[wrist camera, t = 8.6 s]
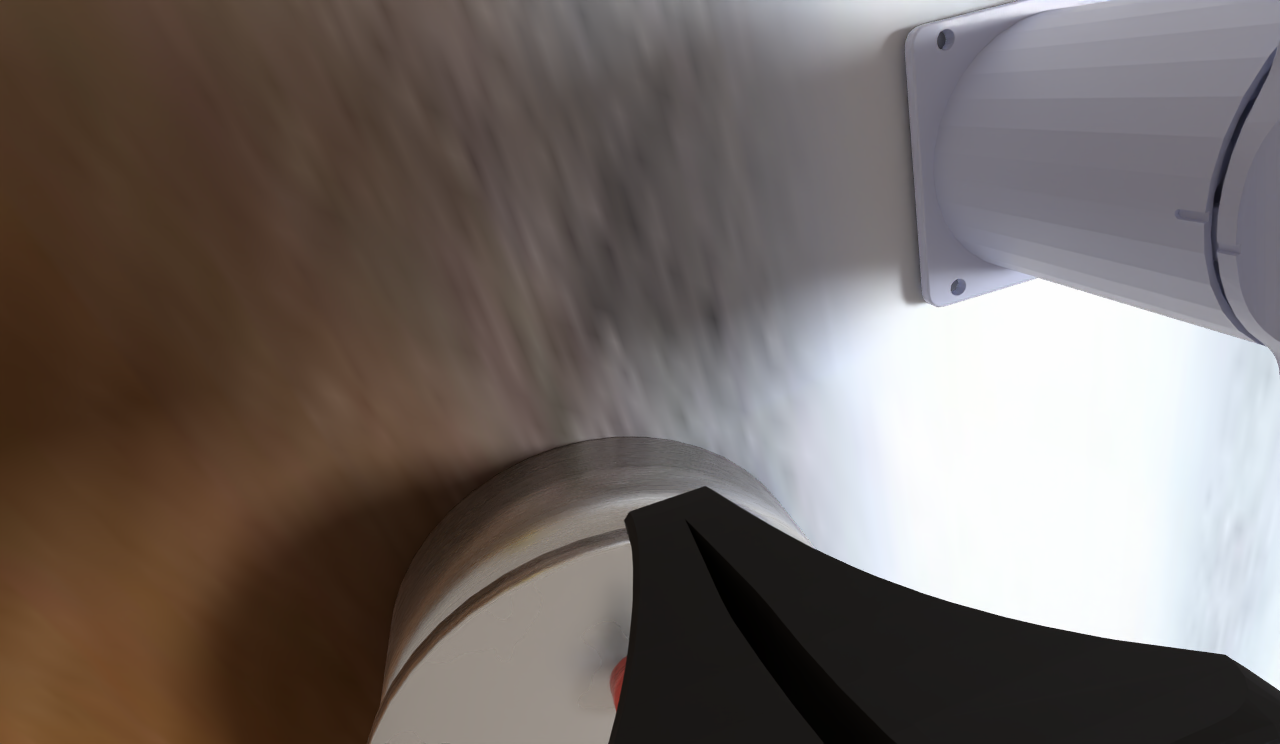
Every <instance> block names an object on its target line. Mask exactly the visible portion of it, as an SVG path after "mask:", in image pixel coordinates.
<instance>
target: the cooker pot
mask: <svg viewBox="0 0 1280 744" xmlns="http://www.w3.org/2000/svg"><path fill="white" fill-rule="evenodd" d="M703 486H707V487H708V488H710V489H712V490H714V491H715V492H717V493H719V494H720V495H722V496H724V497H725V498H727V499H728V500H730V501H732V502H733V503H735V504H736V505H738V506H740V507H741V508H743V509H745V510H746V511H748V512H750V513H751V514H753V515H755V516H756V517H758V518H760V519H761V520H763V521H765V522H766V523H768V524H770V525H772V526H773V527H775V528H777V529H779V530H781V531H782V532H784V533H786V534H788V535H790V536H792V537H793V538H795V539H797V540H799V541H801V542H803V543H805V544H806V545H808V546H810V547H812V548H814V549H816V548H815V547H814V545H813V544H812V543H811V542H810V540H809V539H808V538H807V537H806V535H805V534H804V533H803V532H802V530H801V529H800V528H799V527H798V525H797V524H796V523H795V522H794V520H793V519H792V518H791V517H790V515H789V514H788V513H787V512H786V510H785V509H784V508H783V507H782V505H781V504H780V503H779V502H778V500H777V499H776V498H775V497H774V496H773V495H772V494H771V493H770V491H769V490H768V489H767V488H766V487H765V486H764V485H763V484H762V483H761V482H760V481H758V480H757V479H756V478H755V477H753V476H752V475H751V474H750V473H749V472H747V471H746V470H745V469H743V468H741V467H740V466H738V465H736V464H735V463H733V462H731V461H730V460H728V459H726V458H724V457H722V456H720V455H717V454H715V453H712V452H710V451H708V450H705V449H703V448H700V447H697V446H693V445H689V444H685V443H681V442H677V441H673V440H664V439H656V438H648V437H615V438H607V439H599V440H591V441H584V442H580V443H576V444H572V445H568V446H564V447H560V448H556V449H553V450H551V451H548V452H545V453H543V454H540V455H537V456H535V457H532V458H529V459H527V460H525V461H523V462H521V463H519V464H517V465H515V466H513V467H511V468H509V469H507V470H505V471H503V472H501V473H499V474H498V475H496V476H495V477H493V478H492V479H490V480H489V481H487V482H486V483H484V484H483V485H481V486H480V487H478V488H477V489H475V490H474V491H473V492H471V493H470V494H469V495H468V496H467V497H466V498H465V499H463V500H462V501H461V502H460V503H459V504H458V505H456V506H455V507H454V508H453V509H452V510H451V511H450V512H449V513H448V514H447V515H446V516H445V517H444V518H443V519H442V521H441V522H440V523H439V524H438V525H437V526H436V527H435V528H434V529H433V531H432V532H431V533H430V534H429V536H428V537H427V539H426V540H425V541H424V543H423V544H422V546H421V547H420V549H419V550H418V552H417V553H416V555H415V556H414V558H413V560H412V562H411V564H410V566H409V568H408V570H407V572H406V574H405V576H404V578H403V580H402V583H401V586H400V589H399V592H398V595H397V598H396V602H395V605H394V609H393V616H392V622H391V629H390V636H389V643H388V651H387V658H386V665H385V673H384V680H383V687H382V694H381V702H380V705H381V703H382V701H383V699H384V697H385V695H386V693H387V691H388V689H389V687H390V685H391V683H392V682H393V680H394V679H395V678H396V676H397V675H398V673H399V672H400V670H401V669H402V667H403V666H404V665H405V663H406V662H407V660H408V659H409V657H410V656H411V655H412V653H413V652H414V651H415V650H416V649H417V647H418V646H419V645H420V644H421V643H422V642H423V641H424V640H425V639H426V638H427V636H428V635H429V634H430V633H431V632H432V631H433V630H434V629H435V628H436V627H437V626H438V624H439V623H441V622H442V621H443V620H444V619H445V618H446V617H448V616H449V615H450V614H451V613H452V612H453V611H455V610H456V609H457V608H458V607H459V606H460V605H462V604H463V603H464V602H465V601H466V600H467V599H469V598H470V597H471V596H473V595H474V594H476V593H477V592H479V591H480V590H482V589H483V588H484V587H486V586H487V585H489V584H490V583H492V582H493V581H495V580H496V579H498V578H499V577H501V576H502V575H504V574H506V573H508V572H509V571H511V570H513V569H515V568H517V567H519V566H521V565H523V564H525V563H527V562H528V561H530V560H532V559H534V558H536V557H538V556H540V555H542V554H545V553H547V552H550V551H552V550H555V549H557V548H560V547H563V546H565V545H568V544H570V543H573V542H575V541H578V540H581V539H584V538H588V537H592V536H595V535H599V534H603V533H607V532H610V531H614V530H618V529H623V528H626V526H625V523H624V519H625V518H626V516H627V515H628V513H629V512H630V511H632V510H635V509H638V508H641V507H644V506H647V505H650V504H653V503H656V502H659V501H662V500H665V499H668V498H671V497H674V496H677V495H680V494H683V493H686V492H688V491H691V490H694V489H697V488H700V487H703ZM816 550H817V549H816Z"/></svg>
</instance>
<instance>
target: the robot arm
mask: <svg viewBox="0 0 1280 744" xmlns="http://www.w3.org/2000/svg"><path fill="white" fill-rule="evenodd" d="M941 31H942V32H943V33H944V34H945V38H946V41H945V45H944V47H943V48H942V49H940V48H939V47H938V44H937V38H938V35H939V34H940V32H941ZM905 60H906V74H907V88H908V102H909V117H910V131H911V145H912V159H913V173H914V187H915V201H916V215H917V229H918V243H919V257H920V271H921V285H922V295H923V299H924V300H925V301H926V302H927V303H929V304H931V305H933V306H936V307H944V306H947V305H950V304H954V303H957V302H960V301H964V300H967V299H970V298H973V297H977V296H980V295H983V294H987V293H990V292H993V291H996V290H1000V289H1003V288H1006V287H1010V286H1013V285H1016V284H1019V283H1023V282H1026V281H1029V280H1032V279H1036V278H1041V279H1044V280H1047V281H1051V282H1054V283H1057V284H1061V285H1064V286H1067V287H1071V288H1074V289H1077V290H1081V291H1084V292H1087V293H1091V294H1094V295H1097V296H1101V297H1104V298H1107V299H1111V300H1114V301H1117V302H1121V303H1124V304H1127V305H1131V306H1134V307H1137V308H1141V309H1144V310H1147V311H1151V312H1154V313H1157V314H1161V315H1164V316H1167V317H1171V318H1174V319H1177V320H1181V321H1184V322H1187V323H1191V324H1194V325H1197V326H1201V327H1204V328H1207V329H1211V330H1214V331H1217V332H1221V333H1224V334H1227V335H1231V336H1234V337H1237V338H1241V339H1244V340H1247V341H1251V342H1254V343H1257V344H1261V345H1264V346H1267V347H1268V348H1269V349H1270V350H1271V351H1272V353H1273V354H1274V356H1275V358H1276V360H1277V363H1278V366H1279V373H1280V0H1019V1H1015V2H1011V3H1007V4H1003V5H999V6H995V7H991V8H987V9H983V10H979V11H975V12H971V13H966V14H962V15H958V16H954V17H950V18H946V19H942V20H938V21H934V22H930V23H926V24H922V25H919V26H917V27H915V28H913V30H912V31H911V32H910V33H909V34H908V37H907V39H906V41H905ZM955 280H958V285H957V287H956V289H955V290H954V291H952V292H951V290H950V289H951V285H952V283H953V282H954V281H955ZM624 523H625V526H626V530H627V534H628V537H629V541H630V544H631V548H632V561H633V601H632V615H631V625H630V635H629V645H628V653H627V659H626V666H625V672H624V677H623V683H622V688H621V693H620V697H619V702H618V707H617V711H616V715H615V719H614V723H613V727H612V731H611V735H610V739H609V742H608V744H1280V691H1279V690H1278V689H1276V688H1275V687H1273V686H1272V685H1270V684H1269V683H1267V682H1266V681H1264V680H1263V679H1262V678H1260V677H1259V676H1257V675H1256V674H1254V673H1253V672H1251V671H1250V670H1248V669H1247V668H1245V667H1244V666H1242V665H1241V664H1239V663H1237V662H1236V661H1234V660H1232V659H1231V658H1229V657H1228V656H1226V655H1223V654H1216V653H1208V652H1201V651H1194V650H1186V649H1179V648H1171V647H1164V646H1157V645H1149V644H1142V643H1135V642H1127V641H1120V640H1113V639H1107V638H1101V637H1096V636H1091V635H1086V634H1081V633H1076V632H1071V631H1066V630H1061V629H1055V628H1050V627H1045V626H1041V625H1036V624H1032V623H1028V622H1023V621H1019V620H1015V619H1010V618H1006V617H1002V616H998V615H995V614H991V613H988V612H984V611H980V610H977V609H973V608H970V607H966V606H962V605H959V604H955V603H952V602H948V601H945V600H942V599H939V598H936V597H932V596H929V595H926V594H923V593H920V592H918V591H915V590H912V589H909V588H907V587H904V586H901V585H898V584H896V583H893V582H890V581H887V580H885V579H882V578H879V577H877V576H874V575H872V574H869V573H867V572H864V571H862V570H859V569H857V568H855V567H853V566H850V565H848V564H846V563H844V562H842V561H839V560H837V559H835V558H833V557H831V556H829V555H826V554H824V553H822V552H820V551H818V550H816V549H814V548H812V547H810V546H808V545H806V544H805V543H803V542H801V541H799V540H797V539H795V538H793V537H792V536H790V535H788V534H786V533H784V532H782V531H781V530H779V529H777V528H775V527H773V526H772V525H770V524H768V523H766V522H765V521H763V520H761V519H760V518H758V517H756V516H755V515H753V514H751V513H750V512H748V511H746V510H745V509H743V508H741V507H740V506H738V505H736V504H735V503H733V502H732V501H730V500H728V499H727V498H725V497H724V496H722V495H720V494H719V493H717V492H715V491H714V490H712V489H710V488H708V487H707V486H703V487H700V488H697V489H694V490H691V491H688V492H686V493H683V494H680V495H677V496H674V497H671V498H668V499H665V500H662V501H659V502H656V503H653V504H650V505H647V506H644V507H641V508H638V509H635V510H632V511H630V512H629V513H628V515H627V516H626V518H625V519H624Z"/></svg>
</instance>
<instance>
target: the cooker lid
mask: <svg viewBox="0 0 1280 744" xmlns="http://www.w3.org/2000/svg"><path fill="white" fill-rule="evenodd" d="M632 601H633V561H632V548H631V544H630V541H629V537H628V534H627V530H626V528H623V529H618V530H614V531H610V532H607V533H603V534H599V535H595V536H592V537H588V538H584V539H581V540H578V541H575V542H573V543H570V544H568V545H565V546H563V547H560V548H557V549H555V550H552V551H550V552H547V553H545V554H542V555H540V556H538V557H536V558H534V559H532V560H530V561H528V562H527V563H525V564H523V565H521V566H519V567H517V568H515V569H513V570H511V571H509V572H508V573H506V574H504V575H502V576H501V577H499V578H498V579H496V580H495V581H493V582H492V583H490V584H489V585H487V586H486V587H484V588H483V589H482V590H480V591H479V592H477V593H476V594H474V595H473V596H471V597H470V598H469V599H467V600H466V601H465V602H464V603H463V604H462V605H460V606H459V607H458V608H457V609H456V610H455V611H453V612H452V613H451V614H450V615H449V616H448V617H446V618H445V619H444V620H443V621H442V622H441V623H439V624H438V626H437V627H436V628H435V629H434V630H433V631H432V632H431V633H430V634H429V635H428V636H427V638H426V639H425V640H424V641H423V642H422V643H421V644H420V645H419V646H418V647H417V649H416V650H415V651H414V652H413V653H412V655H411V656H410V657H409V659H408V660H407V662H406V663H405V665H404V666H403V667H402V669H401V670H400V672H399V673H398V675H397V676H396V678H395V679H394V680H393V682H392V683H391V685H390V687H389V689H388V691H387V693H386V695H385V697H384V699H383V701H382V703H381V705H380V707H379V709H378V711H377V713H376V716H375V719H374V722H373V725H372V728H371V732H370V735H369V738H368V741H367V744H608V742H609V739H610V735H611V731H612V727H613V723H614V719H615V715H616V711H617V707H618V702H619V697H620V693H621V688H622V683H623V677H624V672H625V666H626V659H627V653H628V645H629V635H630V625H631V615H632Z"/></svg>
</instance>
